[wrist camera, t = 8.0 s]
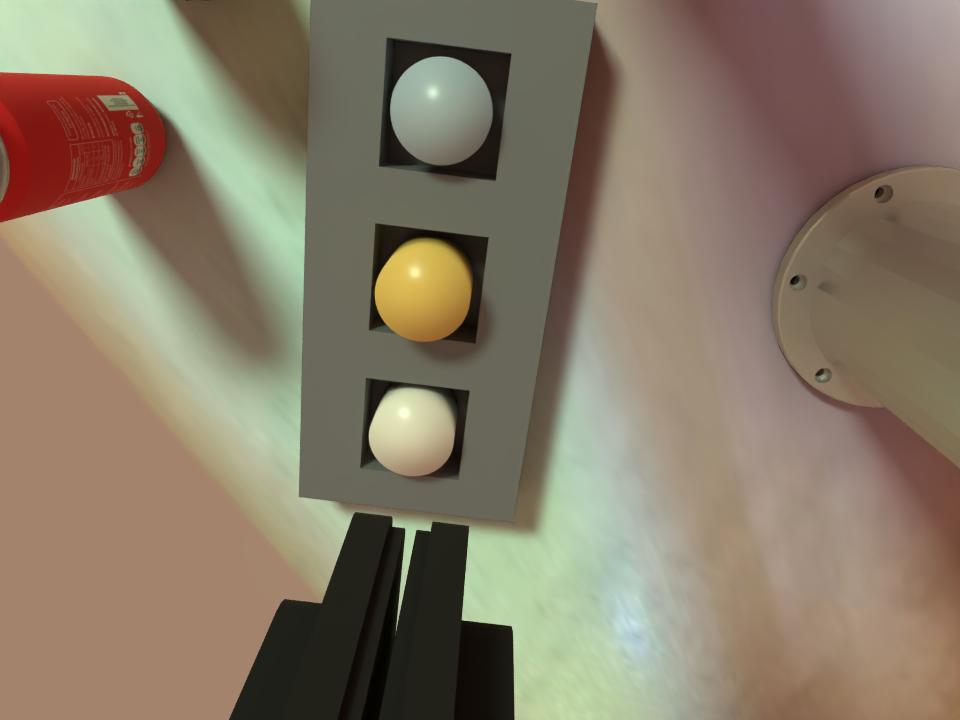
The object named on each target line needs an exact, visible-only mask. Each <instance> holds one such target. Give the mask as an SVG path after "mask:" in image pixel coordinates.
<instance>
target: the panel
mask: <svg viewBox="0 0 960 720" xmlns="http://www.w3.org/2000/svg"><path fill="white" fill-rule="evenodd" d="M596 9H597V3H590V2H582V1H574V0H311V6H310V48H309V91H308V133H307V176H306V218H305V261H304V304H303V346H302V389H301V431H300V474H299V497H303V498H312V499H320V500H328V501H337V502H345V503H354V504H362V505H370V506H379V507H387V508H396V509H404V510H412V511H421V512H429V513H437V514H446V515H454V516H463V517H471V518H479V519H488V520H496V521H505V522H513V519H514V513H515V506H516V500H517V494H518V488H519V482H520V476H521V470H522V463H523V457H524V451H525V445H526V439H527V433H528V427H529V420H530V414H531V408H532V402H533V396H534V390H535V384H536V378H537V371H538V365H539V359H540V353H541V347H542V341H543V335H544V328H545V322H546V316H547V310H548V304H549V298H550V292H551V285H552V279H553V273H554V267H555V261H556V255H557V249H558V243H559V236H560V230H561V224H562V218H563V212H564V206H565V200H566V193H567V187H568V181H569V175H570V169H571V163H572V157H573V150H574V144H575V138H576V132H577V126H578V120H579V114H580V108H581V101H582V95H583V89H584V83H585V77H586V71H587V65H588V58H589V52H590V46H591V40H592V34H593V28H594V22H595V15H596ZM439 56H440V57H450V58H454V59H457V60H460V61H461V62H463V63H465V64H467V65H468V66H470V67H471V68H473V69H474V70H475V71H476V72H477V73H478V74H479V75H480V76H481V77H482V78H483V79H484V81H485V83H486V84H487V86H488V88H489V90H490V93H491V96H492V101H493V119H492V124H491V127H490V130H489V133H488V135H487V137H486V139H485V141H484V142H483V144H482V145H481V147H480V148H479V149H478V150H477V151H476V152H475V153H474V154H473V155H471V156H470V157H469V158H467V159H465V160H463V161H461V162H458V163H456V164H451V165H434V164H429V163H426V162H423V161H421V160H419V159H417V158H416V157H414V156H413V155H412V154H410V153H409V152H408V151H407V150H406V149H405V148H404V147H403V145H402V144H401V143H400V141H399V140H398V138H397V136H396V134H395V131H394V129H393V126H392V122H391V115H390V105H391V98H392V94H393V91H394V88H395V86H396V84H397V82H398V80H399V79H400V77H401V76H402V75H403V73H404V72H405V71H406V70H407V69H408V68H410V67H411V66H412V65H414V64H415V63H417V62H419V61H421V60H424V59H426V58H431V57H439ZM420 235H437V236H441V237H444V238H446V239H449V240H451V241H452V242H454V243H455V244H456V245H458V246H459V247H460V248H461V249H462V250H463V251H464V253H465V254H466V256H467V257H468V259H469V261H470V264H471V266H472V271H473V287H472V293H471V299H470V305H469V310H468V313H467V315H466V317H465V319H464V321H463V322H462V324H461V325H460V326H459V327H458V328H457V329H456V330H455V331H454V332H453V333H451V334H450V335H448V336H446V337H444V338H442V339H439V340H436V341H430V342H419V341H413V340H410V339H406V338H404V337H402V336H400V335H398V334H397V333H395V332H394V331H393V330H391V329H390V328H389V327H388V326H387V325H386V323H385V322H384V321H383V319H382V318H381V316H380V314H379V312H378V309H377V306H376V302H375V286H376V282H377V279H378V276H379V274H380V272H381V271H382V269H383V267H384V266H385V265H386V263H387V262H388V260H389V259H390V257H391V256H392V254H393V253H394V251H395V250H396V249H397V248H398V247H399V246H400V245H401V244H402V243H404V242H405V241H407V240H409V239H411V238H413V237H416V236H420ZM394 381H395V382H404V383H412V384H420V385H428V386H436V387H445V388H449V390H450V391H451V392H452V394H453V396H454V397H455V400H456V403H457V408H458V416H457V423H456V430H455V437H454V444H453V449H452V452H451V455H450V456H449V458H448V460H447V461H446V462H445V463H444V464H443V465H442V466H441V467H440V468H439V469H437V470H436V471H434V472H432V473H429V474H426V475H422V476H405V475H401V474H397V473H395V472H393V471H391V470H389V469H387V468H386V467H385V466H383V465H382V464H381V463H380V462H379V461H378V460H377V459H376V457H375V456H374V454H373V452H372V450H371V447H370V443H369V429H370V426H371V423H372V421H373V418H374V416H375V413H376V411H377V408H378V406H379V403H380V401H381V398H382V396H383V394H384V392H385V390H386V389H387V388H388V387H389V385H391V384H392V383H393V382H394Z"/></svg>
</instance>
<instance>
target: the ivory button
mask: <svg viewBox="0 0 960 720" xmlns="http://www.w3.org/2000/svg"><path fill="white" fill-rule="evenodd" d="M457 416H458V408H457V403H456V400H455V397H454V396H453V394H452V392H451V391H450V390H449V388H445V387H436V386H428V385H420V384H412V383H404V382H395V381H394V382H393V383H392V384H391V385H389V387H388V388H387V389H386V390H385V392H384V394H383V396H382V398H381V401H380V403H379V406H378V408H377V411H376V413H375V416H374V418H373V421H372V423H371V426H370V429H369V443H370V447H371V450H372V452H373V454H374V456H375V457H376V459H377V460H378V461H379V462H380V463H381V464H382V465H383V466H385V467H386V468H387V469H389V470H391V471H393V472H395V473H397V474H401V475H405V476H422V475H426V474H429V473H432V472H434V471H436V470H437V469H439V468H440V467H441V466H442V465H443V464H444V463H445V462H446V461H447V460H448V458H449V456H450V455H451V452H452V449H453V444H454V437H455V430H456V423H457Z"/></svg>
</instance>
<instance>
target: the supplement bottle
mask: <svg viewBox="0 0 960 720" xmlns="http://www.w3.org/2000/svg"><path fill="white" fill-rule="evenodd" d="M187 1H195V2H202V1H210V0H187Z"/></svg>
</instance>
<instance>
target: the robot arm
mask: <svg viewBox="0 0 960 720" xmlns="http://www.w3.org/2000/svg"><path fill="white" fill-rule="evenodd" d="M877 188H879V193H878V194H877V195H876V196H875V192H876V190H877ZM874 196H875V197H874ZM795 275H796V279H795V281H794V282H792V283H790V280H791V279H792V277H794V276H795ZM772 317H773V327H774V330H775V334H776V337H777V341H778V344H779V346H780V348H781V350H782V352H783V354H784V355H785V357H786V359H787V361H788V362H789V364H790V365H791V366H792V367H793V368H794V369H795V370H796V371H797V372H798V374H799V375H800V376H801V377H802V378H803V379H804V380H805V381H807V382H808V383H809V384H810V385H811V386H812V387H814V388H815V389H816V390H818V391H820V392H822V393H824V394H825V395H827V396H829V397H831V398H833V399H835V400H838V401H841V402H845V403H848V404H851V405H855V406H863V407H871V408H884V407H886V408H887V409H888V410H889V411H890V412H892V413H893V414H894V415H895V416H896V417H898V418H899V419H900V420H901V421H902V422H904V423H905V424H906V425H907V426H908V427H910V428H911V429H912V430H913V431H914V432H916V433H917V434H918V435H919V436H921V437H922V438H923V439H924V440H925V441H927V442H928V443H929V444H930V445H931V446H933V447H934V448H935V449H936V450H937V451H939V452H940V453H941V454H942V455H943V456H945V457H946V458H947V459H948V460H949V461H951V462H952V463H953V464H954V465H955V466H957V467H958V468H959V469H960V170H956V169H952V168H945V167H937V166H915V167H902V168H898V169H894V170H890V171H886V172H883V173H879V174H876V175H874V176H871V177H869V178H867V179H865V180H862V181H860V182H858V183H856V184H853V185H852V186H850V187H849V188H847V189H845V190H844V191H842V192H841V193H839V194H838V195H836V196H835V197H833V198H832V199H830V200H829V201H828V202H827V203H826V204H825V205H824V206H823V207H821V208H820V209H819V210H818V211H817V212H816V213H815V214H814V215H813V216H812V217H810V219H809V220H808V221H807V222H806V224H805V225H804V226H803V228H802V229H801V230H800V231H799V233H798V234H797V235H796V236H795V238H794V239H793V241H792V243H791V245H790V247H789V248H788V250H787V252H786V254H785V256H784V257H783V259H782V262H781V265H780V268H779V271H778V274H777V277H776V280H775V284H774V291H773V298H772ZM818 370H820V371H819V372H817V371H818ZM468 533H469V526H465V525H457V524H448V523H440V522H432V527H431V532H430V531H422V530H417V531H416V535H415V540H414V545H413V550H412V555H411V560H410V565H409V570H408V575H407V580H406V585H405V590H404V595H403V600H402V605H401V610H400V615H399V620H398V625H397V630H396V623H397V613H398V603H399V592H400V582H401V571H402V561H403V551H404V540H405V528H397V527H392V517H391V516H383V515H374V514H366V513H358V512H355V513H354V515H353V517H352V520H351V523H350V526H349V529H348V531H347V534H346V537H345V540H344V543H343V546H342V548H341V551H340V554H339V557H338V560H337V562H336V565H335V568H334V571H333V574H332V576H331V579H330V582H329V585H328V588H327V591H326V593H325V596H324V599H323V602H322V604H321V603H312V602H304V601H295V600H287V599H284V600H283V601H282V602H281V604H280V606H279V608H278V610H277V611H276V614H275V616H274V618H273V620H272V623H271V625H270V627H269V630H268V632H267V634H266V636H265V639H264V641H263V643H262V646H261V648H260V651H259V652H258V655H257V657H256V659H255V662H254V664H253V666H252V668H251V671H250V673H249V675H248V677H247V680H246V682H245V685H244V687H243V689H242V691H241V693H240V696H239V698H238V700H237V703H236V705H235V708H234V709H233V712H232V714H231V716H230V719H229V720H514V663H513V630H512V626H505V625H496V624H488V623H479V622H471V621H463V620H462V608H463V596H464V583H465V571H466V558H467V546H468ZM395 634H396V635H395Z"/></svg>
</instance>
